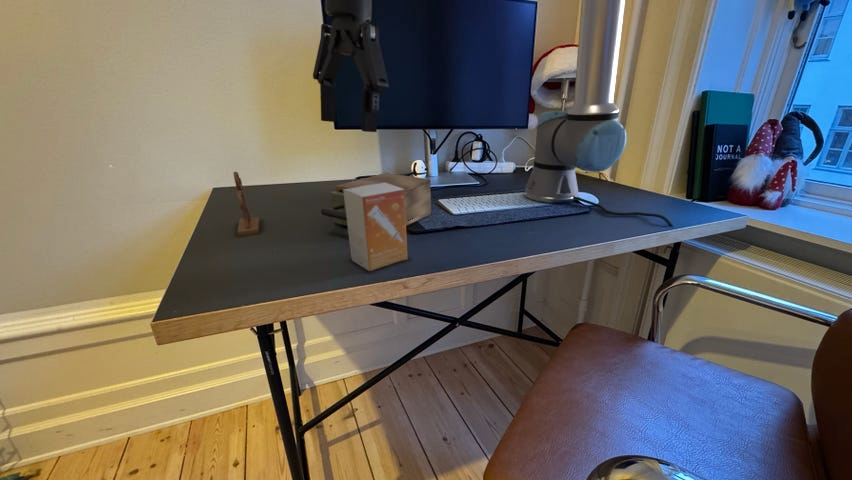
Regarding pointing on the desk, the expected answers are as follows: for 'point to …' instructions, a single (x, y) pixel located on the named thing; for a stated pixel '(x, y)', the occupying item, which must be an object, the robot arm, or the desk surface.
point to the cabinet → (413, 188)
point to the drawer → (337, 208)
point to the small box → (376, 224)
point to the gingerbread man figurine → (245, 212)
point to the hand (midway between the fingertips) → (347, 126)
